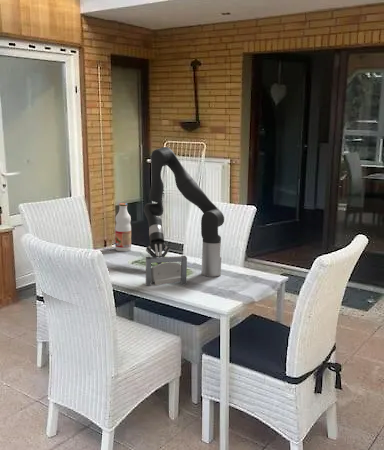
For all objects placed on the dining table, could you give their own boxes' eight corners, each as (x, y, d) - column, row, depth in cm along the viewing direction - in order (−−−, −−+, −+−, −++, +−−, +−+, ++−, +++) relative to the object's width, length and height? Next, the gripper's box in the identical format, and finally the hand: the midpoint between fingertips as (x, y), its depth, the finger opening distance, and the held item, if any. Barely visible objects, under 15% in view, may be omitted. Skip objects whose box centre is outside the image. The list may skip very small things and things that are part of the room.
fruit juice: (130, 251, 292) (130, 205, 287) (114, 251, 292) (114, 204, 286) (131, 248, 301) (132, 202, 296) (116, 247, 301) (116, 202, 296)
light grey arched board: (154, 285, 233) (151, 264, 234) (150, 285, 237) (148, 265, 238) (185, 280, 241) (182, 260, 242) (181, 281, 246) (178, 261, 247)
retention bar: (184, 281, 240) (185, 255, 237) (186, 284, 236) (187, 257, 233) (145, 283, 236) (145, 256, 233) (146, 285, 232) (146, 259, 229)
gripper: (144, 231, 258) (147, 260, 249) (169, 231, 261) (173, 259, 252) (143, 239, 264) (146, 267, 255) (167, 238, 267) (171, 266, 258)
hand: (159, 263), depth 253 cm, fingers closed
